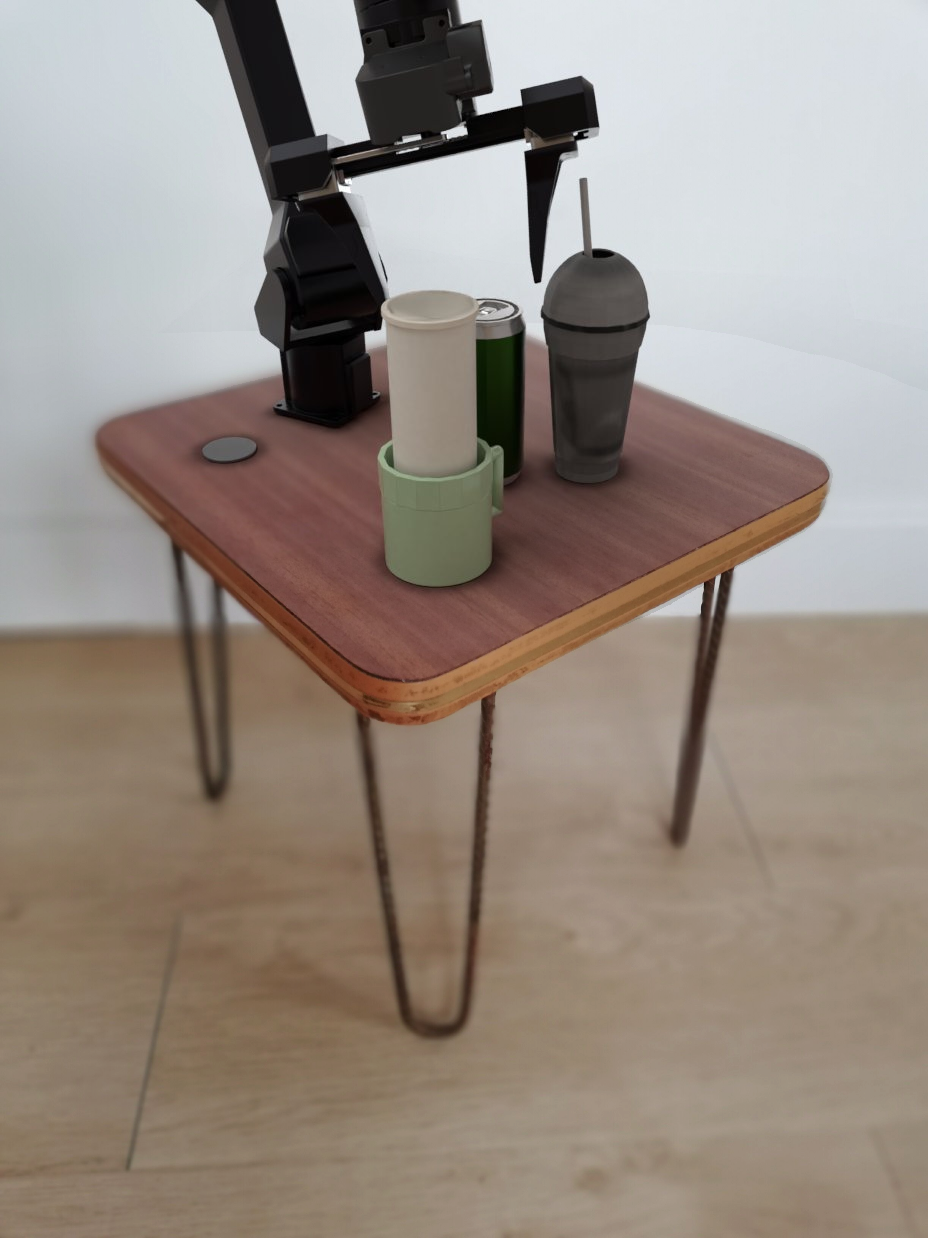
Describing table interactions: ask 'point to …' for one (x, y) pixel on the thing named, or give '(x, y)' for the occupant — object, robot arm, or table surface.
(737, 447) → the table surface
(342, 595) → the table surface
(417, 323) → the paper cup
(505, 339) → the beer can
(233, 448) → the coaster
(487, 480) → the mug
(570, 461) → the beverage cup
